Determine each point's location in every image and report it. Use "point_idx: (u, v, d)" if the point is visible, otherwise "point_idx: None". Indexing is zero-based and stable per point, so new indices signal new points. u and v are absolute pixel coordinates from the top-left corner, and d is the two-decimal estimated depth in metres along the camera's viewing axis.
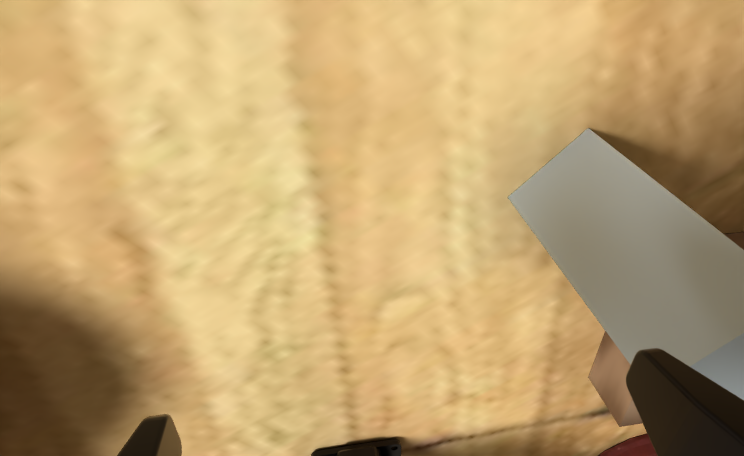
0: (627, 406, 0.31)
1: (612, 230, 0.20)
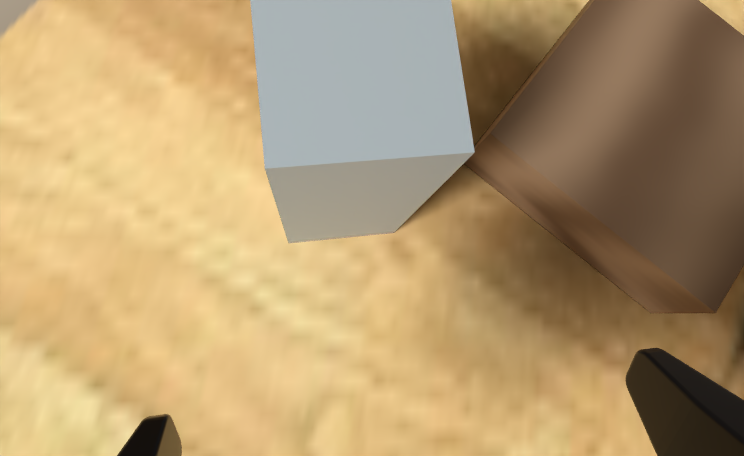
0: (675, 282, 0.21)
1: None
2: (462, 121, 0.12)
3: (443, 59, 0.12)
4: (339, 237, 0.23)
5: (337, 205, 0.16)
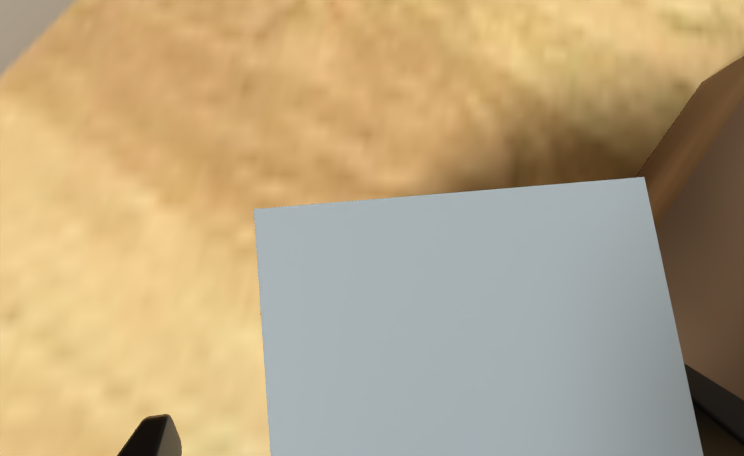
0: None
1: None
2: None
3: (655, 383, 0.06)
4: None
5: None
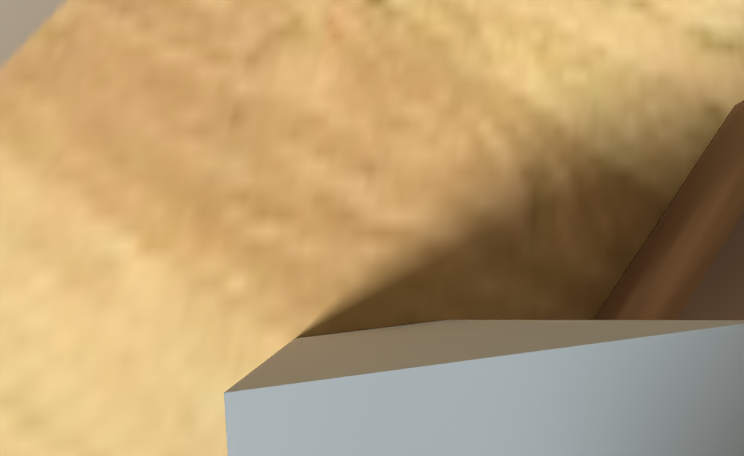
0: None
1: None
2: None
3: None
4: None
5: None
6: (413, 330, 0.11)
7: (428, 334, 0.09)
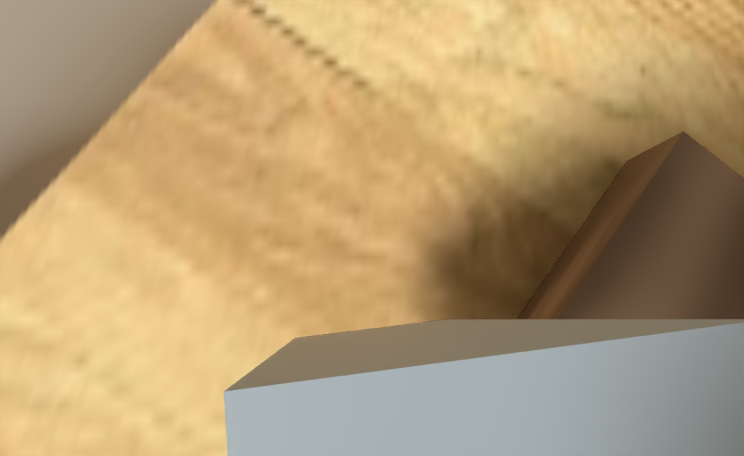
0: None
1: None
2: None
3: None
4: None
5: None
6: (413, 329, 0.11)
7: (428, 333, 0.09)
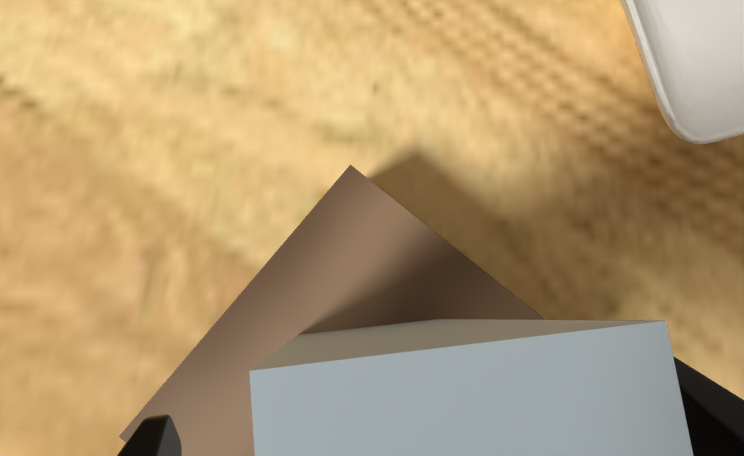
0: None
1: None
2: None
3: None
4: None
5: None
6: (403, 328, 0.13)
7: (414, 331, 0.10)
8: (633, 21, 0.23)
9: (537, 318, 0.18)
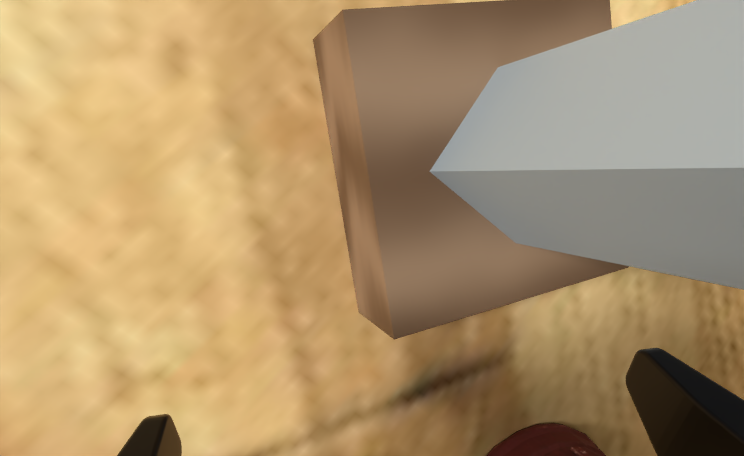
0: (385, 288, 0.19)
1: (581, 94, 0.14)
2: None
3: None
4: (474, 207, 0.19)
5: (619, 214, 0.13)
6: None
7: None
8: None
9: None
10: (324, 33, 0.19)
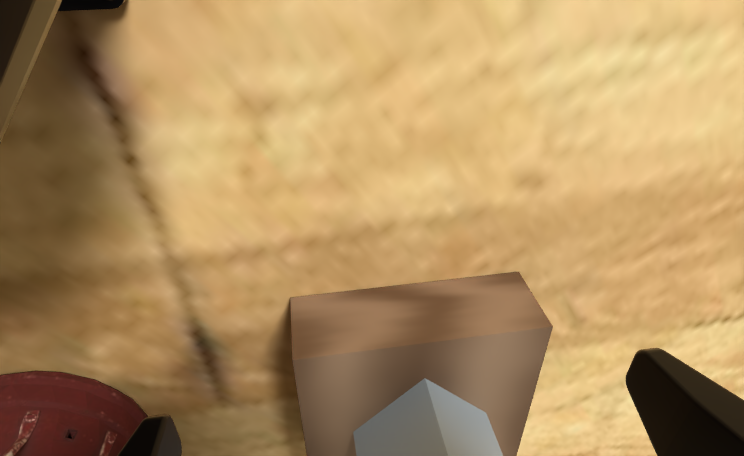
0: (338, 352, 0.22)
1: None
2: None
3: None
4: (390, 407, 0.24)
5: None
6: None
7: None
8: None
9: None
10: (528, 292, 0.25)
